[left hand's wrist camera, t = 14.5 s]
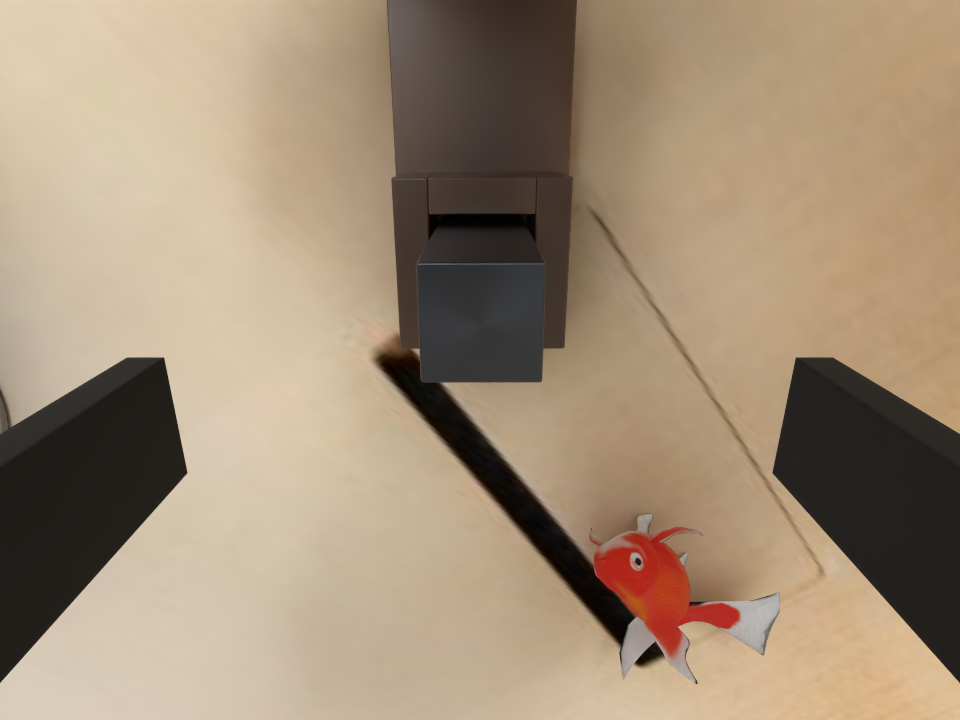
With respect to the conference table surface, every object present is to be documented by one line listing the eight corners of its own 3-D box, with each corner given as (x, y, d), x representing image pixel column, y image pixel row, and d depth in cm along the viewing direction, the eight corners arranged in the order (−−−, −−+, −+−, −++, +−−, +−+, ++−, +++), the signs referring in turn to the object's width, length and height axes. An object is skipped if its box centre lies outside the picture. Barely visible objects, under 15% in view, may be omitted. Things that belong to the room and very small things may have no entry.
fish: (737, 459, 33) (778, 652, 27) (777, 554, 43) (813, 709, 37) (560, 486, 37) (561, 657, 31) (635, 566, 48) (646, 706, 42)
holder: (408, 326, 35) (373, 412, 24) (381, -227, 26) (304, -509, 15) (556, 326, 35) (591, 412, 24) (581, -228, 26) (657, -513, 15)
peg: (446, 286, 32) (420, 383, 19) (444, 212, 31) (415, 262, 18) (517, 285, 32) (542, 383, 19) (519, 211, 31) (546, 262, 18)
